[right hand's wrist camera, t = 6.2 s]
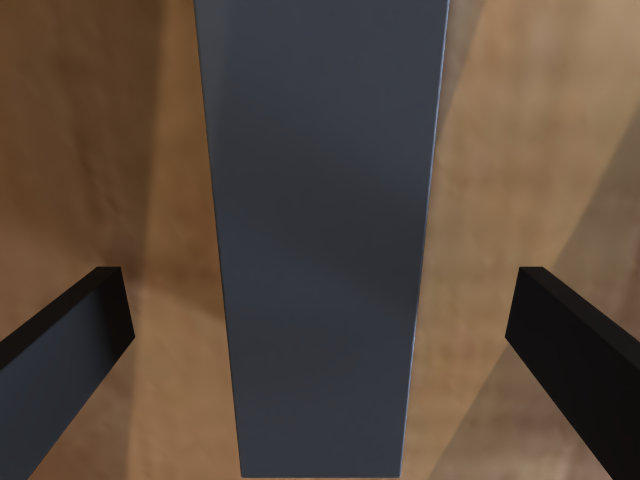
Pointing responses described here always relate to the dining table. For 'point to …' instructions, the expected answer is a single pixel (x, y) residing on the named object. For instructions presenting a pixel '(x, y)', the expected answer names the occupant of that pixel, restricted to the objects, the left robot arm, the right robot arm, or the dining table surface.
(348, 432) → the post
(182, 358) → the dining table surface
